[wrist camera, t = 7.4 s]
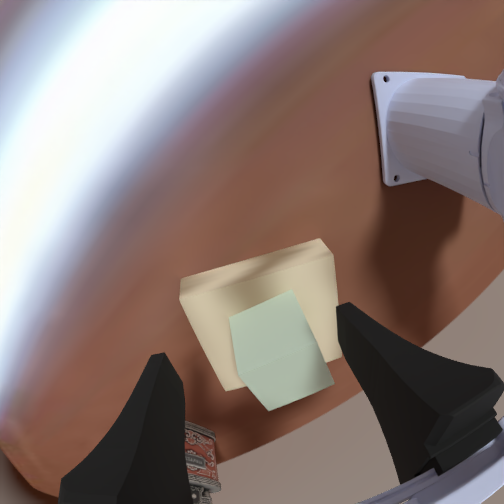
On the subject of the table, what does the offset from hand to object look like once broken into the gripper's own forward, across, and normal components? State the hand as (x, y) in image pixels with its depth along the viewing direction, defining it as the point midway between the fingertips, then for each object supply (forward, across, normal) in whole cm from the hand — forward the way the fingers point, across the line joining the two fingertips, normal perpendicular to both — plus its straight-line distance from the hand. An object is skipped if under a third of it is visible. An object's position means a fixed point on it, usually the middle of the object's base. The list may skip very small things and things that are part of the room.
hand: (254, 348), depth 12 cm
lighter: (+10, +11, +20) cm, 25 cm away
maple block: (+10, -1, +6) cm, 12 cm away
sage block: (+7, -1, +5) cm, 9 cm away
